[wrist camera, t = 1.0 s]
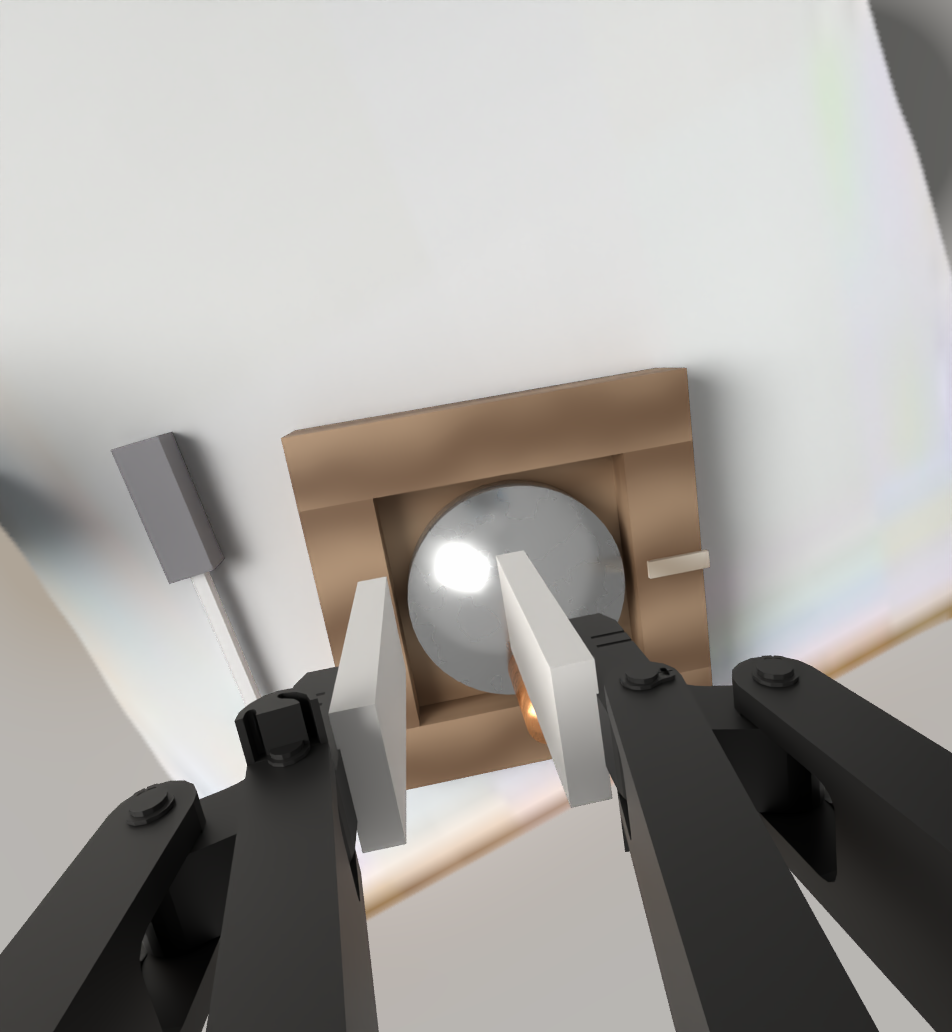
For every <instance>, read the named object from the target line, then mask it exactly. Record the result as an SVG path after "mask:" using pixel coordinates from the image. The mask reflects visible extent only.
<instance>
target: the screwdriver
mask: <svg viewBox="0 0 952 1032" xmlns="http://www.w3.org/2000/svg"><path fill="white" fill-rule="evenodd" d="M111 452H112V454H113V456H114V459H115V461H116V463H117V466H118V468H119V470H120V472H121V475H122V477H123V479H124V482H125V484H126V486H127V488H128V491H129V493H130V495H131V498H132V500H133V502H134V504H135V507H136V509H137V511H138V513H139V516H140V518H141V520H142V523H143V525H144V527H145V529H146V532H147V534H148V536H149V539H150V541H151V543H152V545H153V548H154V550H155V552H156V555H157V557H158V559H159V561H160V564H161V566H162V568H163V571H164V573H165V575H166V577H167V580H168V582H169V584H171V583H174V582H177V581H180V580H183V579H187V578H191V580H192V582H193V585H194V587H195V589H196V592H197V594H198V596H199V599H200V601H201V603H202V606H203V608H204V610H205V613H206V615H207V617H208V620H209V622H210V624H211V627H212V629H213V631H214V634H215V636H216V638H217V641H218V643H219V645H220V648H221V650H222V652H223V655H224V657H225V659H226V662H227V664H228V666H229V669H230V671H231V673H232V676H233V678H234V680H235V683H236V685H237V687H238V690H239V692H240V694H241V697H242V699H243V701H244V704H245V706H247V705H248V704H250V703H252V702H253V701H255V700H257V699H259V698H261V695H260V692H259V690H258V688H257V685H256V683H255V680H254V678H253V676H252V673H251V671H250V669H249V666H248V664H247V661H246V659H245V657H244V654H243V652H242V649H241V647H240V645H239V642H238V640H237V638H236V635H235V633H234V630H233V628H232V626H231V623H230V621H229V618H228V616H227V614H226V611H225V609H224V607H223V604H222V602H221V599H220V597H219V595H218V592H217V590H216V587H215V585H214V583H213V580H212V578H211V576H210V573H209V571H213V570H214V569H215V568H216V567H217V566H218V565H219V564H220V563H221V562H222V561H223V560H224V557H223V554H222V552H221V550H220V547H219V545H218V542H217V540H216V537H215V535H214V532H213V530H212V528H211V525H210V523H209V520H208V518H207V515H206V513H205V511H204V508H203V506H202V503H201V501H200V498H199V496H198V494H197V491H196V489H195V486H194V484H193V481H192V479H191V477H190V474H189V472H188V469H187V467H186V464H185V462H184V460H183V457H182V455H181V452H180V450H179V447H178V445H177V443H176V440H175V438H174V435H173V433H172V432H170V433H167V434H163V435H159V436H156V437H152V438H149V439H146V440H142V441H139V442H136V443H132V444H129V445H126V446H122V447H119V448H116V449H112V450H111Z"/></svg>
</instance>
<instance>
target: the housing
mask: <svg viewBox="0 0 952 1032" xmlns="http://www.w3.org/2000/svg"><path fill="white" fill-rule="evenodd" d="M281 441H282V445H283V449H284V453H285V457H286V462H287V466H288V470H289V474H290V478H291V483H292V487H293V491H294V495H295V499H296V504H297V508H298V512H299V516H300V520H301V525H302V529H303V533H304V537H305V541H306V546H307V550H308V554H309V558H310V562H311V567H312V571H313V575H314V579H315V583H316V588H317V592H318V596H319V600H320V605H321V609H322V613H323V617H324V621H325V626H326V630H327V634H328V638H329V642H330V647H331V651H332V655H333V659H334V663H335V667H338V666H339V664H340V659H341V655H342V650H343V646H344V641H345V637H346V632H347V628H348V623H349V619H350V615H351V610H352V606H353V601H354V597H355V592H356V588H357V583H358V582H360V581H365V580H370V579H376V578H381V577H387V581H388V586H389V591H390V596H391V600H392V605H393V610H394V615H395V620H396V624H397V629H398V634H399V639H400V644H401V648H402V653H403V658H404V663H405V668H406V790H408V789H413V788H418V787H422V786H427V785H432V784H436V783H441V782H446V781H451V780H455V779H460V778H465V777H469V776H474V775H479V774H483V773H488V772H493V771H497V770H502V769H507V768H512V767H516V766H521V765H526V764H530V763H535V762H540V761H544V760H549V759H552V756H551V754H550V751H549V748H548V746H547V744H543V743H540V742H538V741H536V740H535V739H534V738H532V736H531V735H530V734H529V732H528V729H527V726H526V723H525V720H524V717H523V714H522V711H521V709H520V706H519V703H518V700H517V697H516V694H511V695H505V694H495V693H489V692H485V691H481V690H477V689H475V688H472V687H469V686H467V685H465V684H463V683H461V682H459V681H457V680H455V679H454V678H452V677H451V676H449V675H448V674H446V673H445V672H444V671H443V670H442V669H440V668H439V667H438V666H437V665H436V664H435V663H434V662H433V661H432V659H431V658H430V657H429V656H428V655H427V653H426V652H425V651H424V649H423V647H422V646H421V644H420V642H419V641H418V638H417V636H416V634H415V631H414V629H413V626H412V622H411V619H410V614H409V607H408V572H409V566H410V561H411V558H412V554H413V551H414V548H415V546H416V544H417V542H418V539H419V537H420V536H421V534H422V533H423V531H424V529H425V528H426V526H427V525H428V524H429V522H430V521H431V520H432V519H433V517H434V516H435V515H436V514H437V513H438V512H439V511H440V510H441V509H442V508H443V507H444V506H446V505H447V504H448V503H450V502H451V501H452V500H454V499H455V498H457V497H458V496H460V495H462V494H464V493H465V492H467V491H469V490H472V489H474V488H477V487H479V486H482V485H485V484H489V483H493V482H498V481H506V480H526V481H533V482H539V483H543V484H546V485H550V486H552V487H555V488H557V489H559V490H562V491H564V492H565V493H567V494H569V495H570V496H572V497H574V498H575V499H576V500H578V501H579V502H580V503H582V504H583V505H584V506H585V507H587V508H588V509H589V510H590V511H591V512H593V513H594V514H595V515H596V516H597V517H598V518H599V519H600V520H601V522H602V523H603V524H604V525H605V526H606V528H607V529H608V531H609V532H610V534H611V535H612V537H613V539H614V541H615V543H616V545H617V547H618V550H619V553H620V556H621V559H622V563H623V569H624V575H625V593H624V602H623V606H622V611H621V615H620V617H619V620H618V623H619V625H620V626H621V627H622V628H623V629H624V632H626V633H627V634H628V635H629V637H630V638H631V640H632V641H634V643H635V644H636V645H637V646H638V647H639V649H640V650H641V651H642V652H643V653H644V655H645V656H646V657H647V658H648V659H649V661H651V662H658V663H664V664H666V665H668V666H671V667H673V668H675V669H676V670H677V671H678V672H679V673H680V674H681V675H682V677H683V679H684V680H685V682H686V684H688V685H694V686H712V674H711V662H710V649H709V637H708V625H707V612H706V600H705V588H704V576H703V568H708V567H710V560H709V551H708V550H701V539H700V526H699V514H698V502H697V490H696V477H695V465H694V453H693V440H692V428H691V416H690V404H689V391H688V379H687V368H653V369H647V370H641V371H636V372H630V373H624V374H618V375H613V376H607V377H601V378H595V379H589V380H584V381H578V382H572V383H566V384H561V385H555V386H549V387H543V388H538V389H532V390H526V391H520V392H514V393H509V394H503V395H497V396H491V397H486V398H480V399H474V400H468V401H462V402H457V403H451V404H445V405H439V406H434V407H428V408H422V409H416V410H411V411H405V412H399V413H393V414H387V415H382V416H376V417H370V418H364V419H359V420H353V421H347V422H341V423H335V424H330V425H324V426H318V427H312V428H307V429H301V430H295V431H293V432H291V433H290V434H288V435H286V436H284V437H282V438H281Z"/></svg>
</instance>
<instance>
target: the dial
mask: <svg viewBox="0 0 952 1032" xmlns="http://www.w3.org/2000/svg"><path fill="white" fill-rule="evenodd" d="M523 550H524V552H525V553H526V555H527V556H528V558H529V559H530V561H531V562H532V564H533V565H534V567H535V568H536V570H537V572H538V573H539V575H540V576H541V578H542V579H543V581H544V582H545V584H546V585H547V587H548V589H549V590H550V592H551V593H552V595H553V596H554V598H555V599H556V601H557V602H558V604H559V605H560V607H561V609H562V610H563V612H564V613H565V615H566V616H567V618H568V619H571V618H576V617H581V616H586V615H591V614H596V613H601V614H603V615H605V616H608V617H610V618H612V619H615V620H616V621H617V622H618V620H619V617H620V615H621V611H622V606H623V602H624V593H625V575H624V569H623V563H622V559H621V556H620V553H619V550H618V547H617V545H616V543H615V541H614V539H613V537H612V535H611V534H610V532H609V531H608V529H607V528H606V526H605V525H604V524H603V523H602V522H601V520H600V519H599V518H598V517H597V516H596V515H595V514H594V513H593V512H591V511H590V510H589V509H588V508H587V507H585V506H584V505H583V504H582V503H580V502H579V501H578V500H576V499H575V498H574V497H572V496H570V495H569V494H567V493H565V492H564V491H562V490H559V489H557V488H555V487H552V486H550V485H546V484H543V483H539V482H533V481H526V480H506V481H498V482H493V483H489V484H485V485H482V486H479V487H477V488H474V489H472V490H469V491H467V492H465V493H464V494H462V495H460V496H458V497H457V498H455V499H454V500H452V501H451V502H450V503H448V504H447V505H446V506H444V507H443V508H442V509H441V510H440V511H439V512H438V513H437V514H436V515H435V516H434V517H433V519H432V520H431V521H430V522H429V524H428V525H427V526H426V528H425V529H424V531H423V533H422V534H421V536H420V537H419V539H418V542H417V544H416V546H415V548H414V551H413V554H412V558H411V561H410V566H409V572H408V607H409V614H410V619H411V622H412V626H413V629H414V631H415V634H416V636H417V638H418V641H419V642H420V644H421V646H422V647H423V649H424V651H425V652H426V653H427V655H428V656H429V657H430V658H431V659H432V661H433V662H434V663H435V664H436V665H437V666H438V667H439V668H440V669H442V670H443V671H444V672H445V673H446V674H448V675H449V676H451V677H452V678H454V679H455V680H457V681H459V682H461V683H463V684H465V685H467V686H469V687H472V688H475V689H477V690H481V691H485V692H489V693H495V694H505V695H511V694H516V697H517V700H518V703H519V706H520V709H521V711H522V714H523V717H524V720H525V723H526V726H527V729H528V732H529V734H530V735H531V736H532V738H534V739H535V740H536V741H538V742H540V743H543V744H547V743H546V740H545V738H544V735H543V732H542V730H541V727H540V724H539V722H538V719H537V716H536V714H535V711H534V708H533V706H532V703H531V700H530V698H529V695H528V692H527V690H526V687H525V684H524V682H523V679H522V676H521V674H520V671H519V669H518V666H517V663H516V661H515V658H514V655H513V653H512V650H511V645H510V639H509V633H508V627H507V621H506V615H505V608H504V602H503V596H502V590H501V584H500V578H499V572H498V566H497V560H496V555H502V554H507V553H512V552H517V551H523Z"/></svg>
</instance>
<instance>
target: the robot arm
mask: <svg viewBox="0 0 952 1032" xmlns="http://www.w3.org/2000/svg"><path fill="white" fill-rule="evenodd" d="M496 560H497V566H498V572H499V578H500V584H501V590H502V596H503V602H504V608H505V615H506V621H507V627H508V633H509V639H510V645H511V650H512V653H513V655H514V658H515V661H516V663H517V666H518V669H519V671H520V674H521V676H522V679H523V682H524V684H525V687H526V690H527V692H528V695H529V698H530V700H531V703H532V706H533V708H534V711H535V714H536V716H537V719H538V722H539V724H540V727H541V730H542V732H543V735H544V738H545V740H546V743H547V746H548V748H549V751H550V754H551V756H552V759H553V762H554V764H555V767H556V770H557V772H558V775H559V778H560V780H561V783H562V785H563V788H564V791H565V793H566V796H567V799H568V801H569V804H570V807H571V808H572V807H577V806H581V805H586V804H590V803H595V802H599V801H604V800H609V799H612V791H611V783H610V776H609V774H610V775H611V777H612V779H613V781H614V783H615V785H616V787H617V790H618V799H619V807H620V815H621V823H622V830H623V838H624V846H625V852H629V851H630V853H631V858H632V861H633V866H634V869H635V873H636V877H637V881H638V885H639V889H640V893H641V897H642V901H643V905H644V909H645V913H646V917H647V920H648V924H649V928H650V932H651V936H652V939H653V944H654V948H655V951H656V955H657V960H658V964H659V967H660V971H661V975H662V979H663V983H664V987H665V991H666V995H667V999H668V1003H669V1006H670V1011H671V1015H672V1019H673V1022H674V1026H675V1030H676V1032H879V1031H878V1029H877V1027H876V1025H875V1023H874V1022H873V1020H872V1018H871V1016H870V1015H869V1013H868V1011H867V1009H866V1007H865V1005H864V1004H863V1002H862V1000H861V998H860V996H859V995H858V993H857V991H856V989H855V987H854V986H853V984H852V982H851V980H850V979H849V977H848V975H847V973H846V971H845V969H844V967H843V966H842V964H841V962H840V960H839V959H838V957H837V955H836V953H835V951H834V950H833V948H832V946H831V944H830V942H829V940H828V939H827V937H826V935H825V933H824V931H823V930H822V928H821V926H820V924H819V923H818V921H817V919H816V917H815V915H814V913H813V912H812V910H811V908H810V906H809V904H808V902H807V901H806V899H805V897H804V895H803V894H802V892H801V890H800V888H799V886H798V884H797V883H796V881H795V879H794V877H793V875H792V874H791V872H792V873H793V874H794V875H795V876H796V877H797V878H798V879H799V880H800V882H801V883H802V884H803V885H804V886H805V887H806V888H807V889H808V890H809V891H810V893H811V894H812V895H813V896H814V897H815V898H816V899H817V900H818V902H819V903H820V904H821V905H822V906H823V907H824V908H825V909H826V910H827V912H829V914H830V915H831V916H832V917H833V918H834V919H835V920H836V921H837V922H838V924H839V925H840V926H841V927H842V928H843V929H844V930H845V931H846V932H847V934H848V935H849V936H850V937H851V938H852V939H853V940H854V941H855V943H856V944H857V945H858V946H859V947H860V948H861V949H862V950H863V951H864V952H865V954H866V955H867V956H868V957H869V958H870V959H871V960H872V961H873V962H874V964H875V965H876V966H877V967H878V968H879V969H880V970H881V971H882V972H883V974H884V975H885V976H886V977H887V978H888V979H889V980H890V981H891V982H892V984H893V985H894V986H895V987H896V988H897V989H898V990H899V991H900V992H901V993H902V995H903V996H905V998H906V999H907V1000H908V1001H909V1002H910V1003H911V1004H912V1006H913V1007H914V1008H915V1009H916V1010H917V1011H918V1012H919V1013H920V1014H921V1016H922V1017H923V1018H924V1019H925V1020H926V1021H927V1022H928V1023H929V1024H930V1026H931V1027H932V1028H933V1029H934V1030H935V1031H936V1032H952V753H951V752H949V751H948V750H946V749H944V748H943V747H941V746H940V745H938V744H936V743H935V742H933V741H932V740H930V739H928V738H927V737H925V736H924V735H922V734H920V733H919V732H917V731H915V730H914V729H912V728H911V727H909V726H907V725H906V724H904V723H902V722H901V721H899V720H898V719H896V718H894V717H893V716H891V715H889V714H888V713H886V712H885V711H883V710H882V709H880V708H878V707H877V706H875V705H873V704H872V703H870V702H869V701H867V700H865V699H864V698H862V697H860V696H859V695H857V694H856V693H854V692H852V691H850V690H849V689H848V688H846V687H844V686H843V685H841V684H839V683H838V682H836V681H835V680H833V679H831V678H830V677H828V676H827V675H825V674H823V673H822V672H820V671H818V670H817V669H815V668H814V667H812V666H810V665H808V664H806V663H803V662H801V661H799V660H795V659H790V658H785V657H783V656H774V657H772V656H771V655H770V656H762V657H757V658H750V659H748V660H746V661H743V662H741V663H739V664H738V665H737V666H736V667H735V668H734V669H733V670H732V683H733V686H694V685H688V684H686V682H685V680H684V679H683V677H682V675H681V674H680V673H679V672H678V671H677V670H676V669H675V668H673V667H671V666H668V665H666V664H664V663H658V662H651V661H649V659H648V658H647V657H646V656H645V655H644V653H643V652H642V651H641V650H640V649H639V647H638V646H637V645H636V644H635V643H634V641H632V640H631V638H630V637H629V635H628V634H627V633H626V632H624V629H623V628H622V627H621V626H620V625H619V623H618V622H617V621H616V620H615V619H612V618H610V617H608V616H605V615H603V614H601V613H596V614H591V615H586V616H581V617H576V618H571V619H568V618H567V616H566V615H565V613H564V612H563V610H562V609H561V607H560V605H559V604H558V602H557V601H556V599H555V598H554V596H553V595H552V593H551V592H550V590H549V589H548V587H547V585H546V584H545V582H544V581H543V579H542V578H541V576H540V575H539V573H538V572H537V570H536V568H535V567H534V565H533V564H532V562H531V561H530V559H529V558H528V556H527V555H526V553H525V552H524V550H523V551H517V552H512V553H507V554H502V555H496ZM235 724H236V728H237V731H238V735H239V738H240V742H241V745H242V749H243V752H244V756H245V759H246V763H247V770H246V777H245V779H244V780H243V781H241V782H239V783H237V784H235V785H233V786H231V787H229V788H227V789H224V790H222V791H219V792H217V793H214V794H212V795H209V796H207V797H204V798H202V799H199V797H198V794H197V791H196V789H195V786H194V784H192V783H189V782H187V781H168V782H164V783H160V784H154V785H152V786H149V787H147V789H142V790H140V791H138V792H136V793H135V794H134V795H133V796H131V797H130V798H128V799H127V800H125V801H124V802H122V803H121V804H120V805H119V806H118V807H117V808H116V809H115V810H114V811H113V812H112V813H111V814H110V815H109V816H108V817H107V818H106V819H105V821H104V822H103V823H102V825H101V826H100V827H99V828H98V830H97V831H96V832H95V834H94V835H93V836H92V837H91V839H90V840H89V841H88V843H87V844H86V845H85V846H84V848H83V849H82V850H81V852H80V853H79V855H77V857H76V858H75V859H74V861H73V862H72V863H71V865H70V866H69V867H68V868H67V870H66V871H65V872H64V874H63V875H62V876H61V877H60V879H59V880H58V881H57V882H56V884H55V885H54V886H53V888H52V889H51V890H50V891H49V893H48V894H47V895H46V897H45V898H44V899H43V900H42V902H41V903H40V904H39V906H38V907H37V908H36V909H35V911H34V912H33V913H32V915H31V916H30V917H29V918H28V920H27V921H26V922H25V924H24V925H23V926H22V927H21V929H20V930H19V931H18V933H17V934H16V935H15V936H14V938H13V939H12V940H11V942H10V943H9V944H8V945H7V947H6V948H5V949H4V951H3V952H2V953H1V954H0V1032H202V1029H203V1026H204V1024H205V1021H206V1019H207V1016H208V1014H209V1016H208V1021H207V1028H206V1032H379V1031H378V1022H377V1013H376V1004H375V996H374V986H373V977H372V968H371V959H370V950H369V941H368V932H367V923H366V914H365V905H364V896H363V887H362V878H361V871H360V867H359V863H358V859H357V855H356V851H355V842H356V833H357V832H358V836H359V840H360V844H361V848H362V852H363V853H366V852H371V851H375V850H380V849H384V848H389V847H394V846H398V845H403V844H406V668H405V663H404V658H403V653H402V648H401V644H400V639H399V634H398V629H397V624H396V620H395V615H394V610H393V605H392V600H391V596H390V591H389V586H388V581H387V577H381V578H376V579H370V580H365V581H360V582H358V583H357V588H356V592H355V597H354V601H353V606H352V610H351V615H350V619H349V623H348V628H347V632H346V637H345V641H344V646H343V650H342V655H341V659H340V664H339V666H338V667H333V668H328V669H323V670H318V671H313V672H308V673H306V674H305V675H304V676H303V677H302V678H301V679H300V680H299V681H298V682H297V683H296V684H295V685H294V687H293V688H291V689H286V690H280V691H276V692H274V693H271V694H268V695H265V696H263V697H261V698H259V699H257V700H255V701H253V702H252V703H250V704H248V705H247V706H246V707H245V708H244V709H243V710H241V711H240V712H239V714H238V716H237V717H236V719H235ZM789 869H790V870H789ZM790 871H791V872H790Z"/></svg>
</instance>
